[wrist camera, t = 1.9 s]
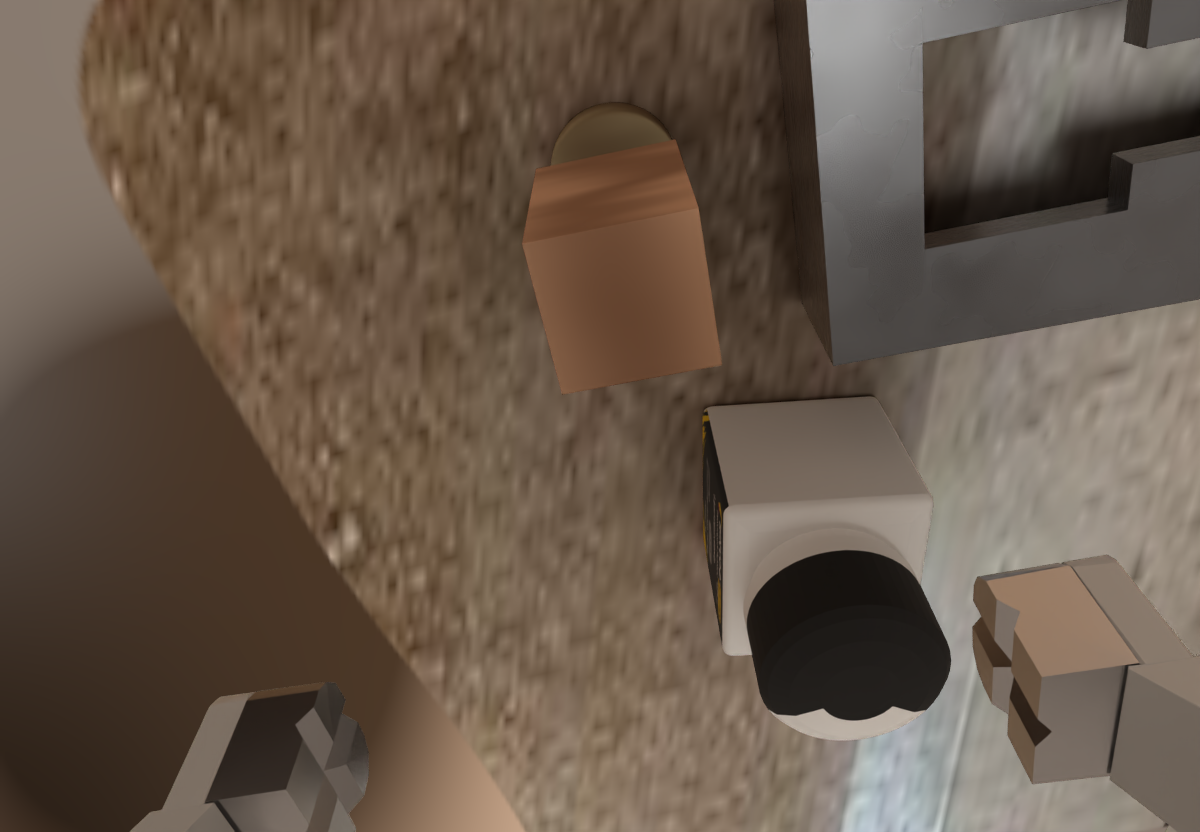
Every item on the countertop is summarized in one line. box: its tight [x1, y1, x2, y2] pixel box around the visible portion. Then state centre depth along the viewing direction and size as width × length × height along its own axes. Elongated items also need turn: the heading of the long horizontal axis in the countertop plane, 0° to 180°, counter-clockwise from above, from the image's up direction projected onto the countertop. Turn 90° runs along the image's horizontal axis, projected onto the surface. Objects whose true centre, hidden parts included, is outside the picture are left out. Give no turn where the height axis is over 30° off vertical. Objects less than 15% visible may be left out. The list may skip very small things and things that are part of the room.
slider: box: [522, 102, 722, 395], centre depth 25 cm, size 4×4×12 cm
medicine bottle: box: [703, 396, 951, 740], centre depth 32 cm, size 7×7×12 cm
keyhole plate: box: [774, 0, 1200, 366], centre depth 26 cm, size 20×13×5 cm, turn 102°
